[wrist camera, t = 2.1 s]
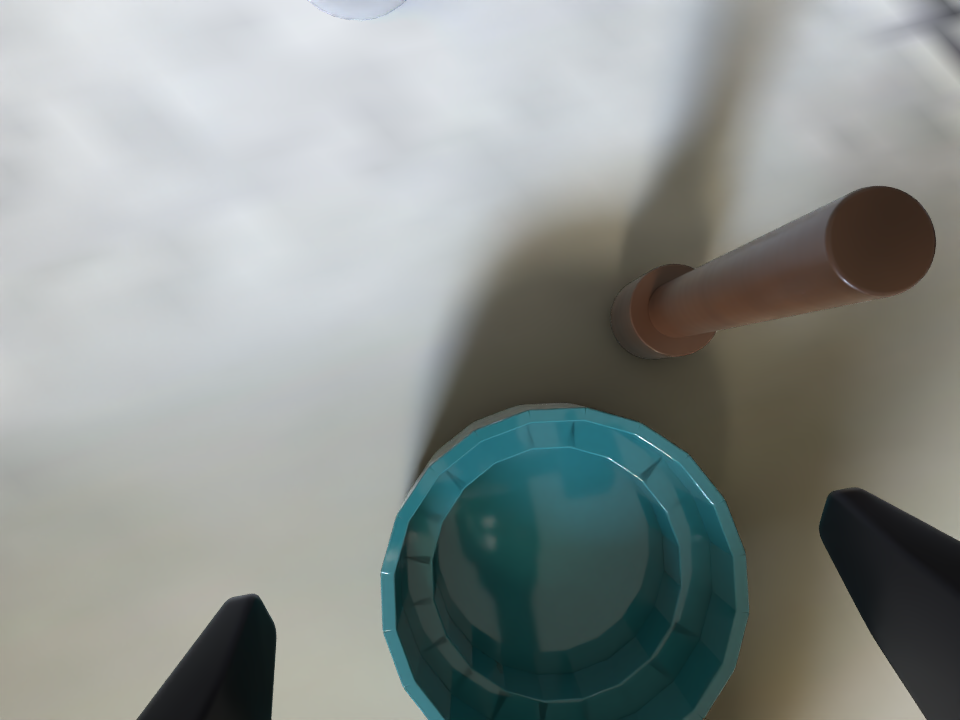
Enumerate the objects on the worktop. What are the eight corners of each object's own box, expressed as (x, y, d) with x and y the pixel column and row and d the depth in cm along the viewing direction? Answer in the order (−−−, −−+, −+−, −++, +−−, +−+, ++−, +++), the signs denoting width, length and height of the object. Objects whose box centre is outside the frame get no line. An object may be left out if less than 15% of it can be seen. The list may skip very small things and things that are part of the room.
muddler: (693, 357, 25) (979, 329, 11) (612, 360, 25) (796, 336, 11) (689, 275, 25) (967, 145, 11) (607, 279, 25) (785, 152, 11)
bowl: (706, 699, 24) (759, 770, 20) (403, 716, 24) (388, 792, 20) (689, 396, 25) (737, 400, 20) (391, 409, 25) (374, 416, 20)
